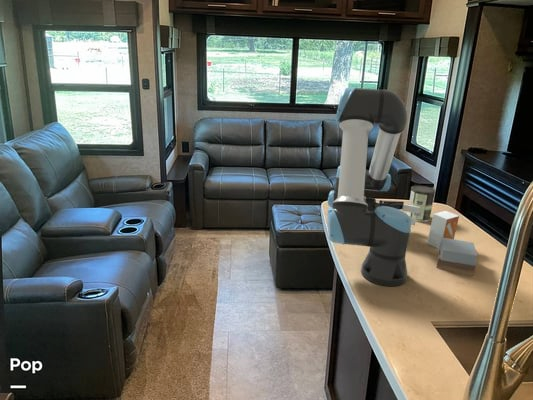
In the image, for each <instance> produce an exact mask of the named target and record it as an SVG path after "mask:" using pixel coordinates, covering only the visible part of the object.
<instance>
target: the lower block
mask: <svg viewBox="0 0 533 400" xmlns="http://www.w3.org/2000/svg"><path fill="white" fill-rule="evenodd" d="M436 260H437V261H436V265H435V266H436V269H440V270H445V271H449V272H453V273H458V274H461V275H462V274H463V275H465V276H466V275H467V276H471V277H473V276H474V273H475V269H476V265H475V266H471V265H466V264H461V263H455V262H449V261H444V260H441V256H440V247H439V249H438V253H437V258H436Z"/></svg>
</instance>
